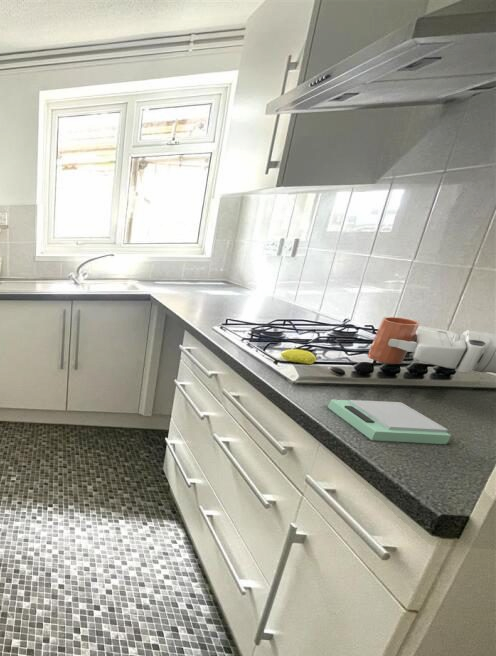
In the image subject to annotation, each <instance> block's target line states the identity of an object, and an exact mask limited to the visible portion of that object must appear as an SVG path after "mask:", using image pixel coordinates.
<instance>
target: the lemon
mask: <svg viewBox="0 0 496 656" xmlns="http://www.w3.org/2000/svg"><path fill="white" fill-rule="evenodd" d="M280 356H281V358H283V359H285V360H286V361H288V362H291V363H296V364H297V363H298V364H303V365H312V364H314V363H315V362H316V361H317V357H316V355H315V354H314V353H313V352H311V351H309V350H304V349H300V348H299V349H295V348H294V349H285V350H283V351H282V352H281V353H280Z"/></svg>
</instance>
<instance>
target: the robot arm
mask: <svg viewBox="0 0 496 656" xmlns="http://www.w3.org/2000/svg"><path fill="white" fill-rule="evenodd" d="M388 346H391V347H397V348H400V349H403V350H406V351H407V352H411V353H412V358H413V359H414V360H416V361H418V362H421V363H423V364H429V365H431V366H437V367H443V368H446V369H454V371H455V372H457V373H459V374H460V373H461V374H467V375H468V374H470V373H472V372H477V373H492V374H496V333H493V332H487V331H479V330H473V329H472V330H471V329H465V331H464V332H462V334H458V333H456V332H454V331H451V330H447V329H441V328H436V327H430V326H424V325H419V327H418V329H417V331H416V333H415V335H414V338H413V340H412V341H410V342H409V341H404V340H400V339H397V338H390V339H389V342H388Z"/></svg>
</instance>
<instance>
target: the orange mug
mask: <svg viewBox="0 0 496 656" xmlns="http://www.w3.org/2000/svg"><path fill="white" fill-rule="evenodd" d="M419 326H421V323H420V322H419V321H416V320H414V319H409V318H404V317H395V316H386V317H385V316H384V317H383V318H382V319H381V321H380V324H379V326H378V328H377V331H376V333H375V336H374V338H373V341H372V342H371V345H370V348H369V350H368V353H367V357H368V359H370V360H373V361H375V362H380V363H384V364H390V365H399V364H402V363H403V361H404V359H405V357H406V356H407V353H408V351H406V350H403V349H400V348H397V347H391V346H388V342H389V339H390V338H397V339H400V340H404V341H409V342H410V341H412V340H413V338H414V335H415V333H416V331H417V329H418V327H419Z"/></svg>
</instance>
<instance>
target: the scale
mask: <svg viewBox="0 0 496 656" xmlns="http://www.w3.org/2000/svg"><path fill="white" fill-rule="evenodd" d="M327 408H328V409H329V410H331V412H332V413H334V414H336V415H337V416H338V417H340V418H341V419H342V420H344V421H345V422H346V423H347V424H348V425H351V426H352V427H353V428H354V429H356V430H357V431H358V432H360V433H361V434H363V435H364V436H365V437H366V438H368V439H369V440H371V441H379V442H380V441H381V442H398V443H415V444H416V443H417V444H418V443H419V444H435V445H437V444H438V445H447V444H448V443H449V441H450V439H451V438H452V434H450V433H448V431H449V429H448V428H446V427H444V426H443V425H441V424H439V423H437V422H436V421H434V420H433V419H431V418H429V417H428V416H426V415H424V414H422V413H420V412H419V411H417V410H416V409H414V408H412V407H410V406H408V405H406V404H405V403H403V402H401V401H381V400H361V399H350V400H348V399H347V400H346V399H330V401H329V404H328V405H327Z"/></svg>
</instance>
